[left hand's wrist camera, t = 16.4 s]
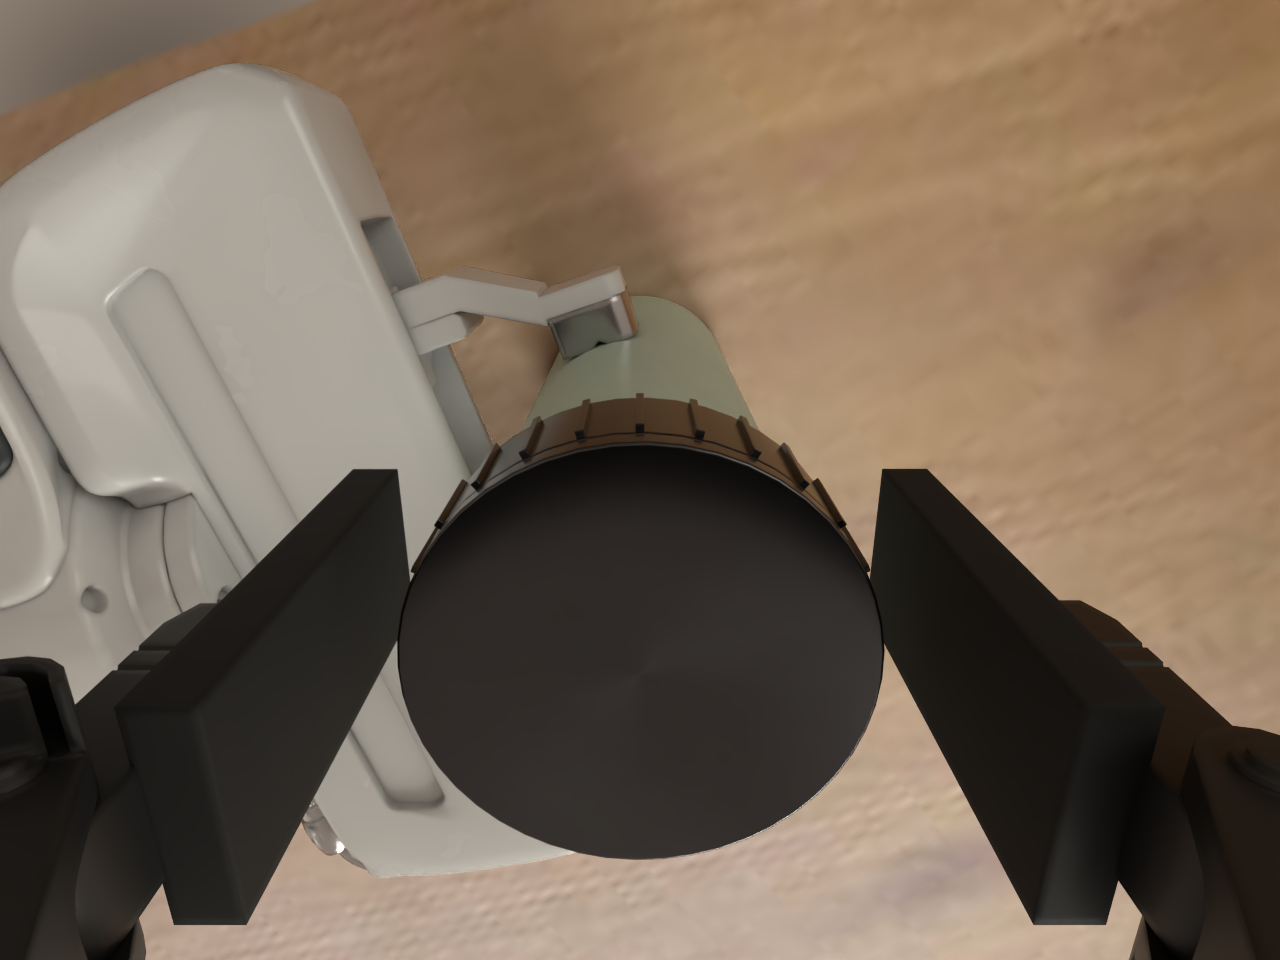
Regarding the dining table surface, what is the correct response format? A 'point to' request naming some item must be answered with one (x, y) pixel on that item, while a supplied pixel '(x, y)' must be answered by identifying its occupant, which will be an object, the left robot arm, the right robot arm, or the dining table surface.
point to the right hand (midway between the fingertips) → (675, 431)
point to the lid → (640, 632)
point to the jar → (647, 366)
